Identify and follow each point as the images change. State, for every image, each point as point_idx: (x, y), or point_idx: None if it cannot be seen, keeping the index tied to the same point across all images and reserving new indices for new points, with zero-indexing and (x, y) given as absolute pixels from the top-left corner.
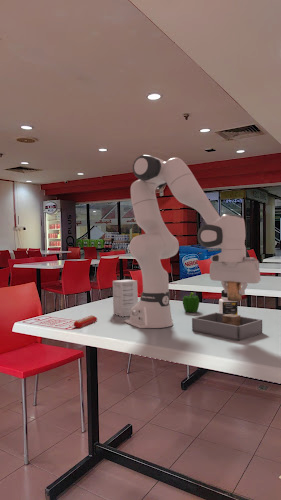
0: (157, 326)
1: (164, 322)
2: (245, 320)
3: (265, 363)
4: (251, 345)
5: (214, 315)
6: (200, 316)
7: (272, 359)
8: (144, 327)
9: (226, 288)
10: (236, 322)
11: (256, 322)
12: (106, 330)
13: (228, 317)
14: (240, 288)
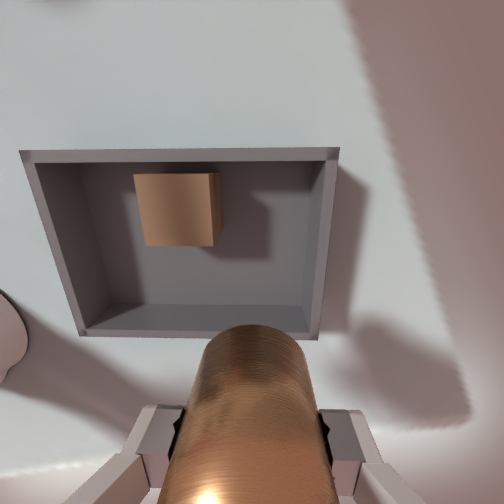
0: (17, 358)
1: (6, 346)
2: (237, 161)
3: (445, 409)
4: (361, 322)
5: (50, 183)
6: (68, 290)
7: (453, 382)
8: (2, 378)
9: (143, 474)
10: (217, 210)
11: (331, 209)
12: None
13: (185, 244)
14: (335, 489)
